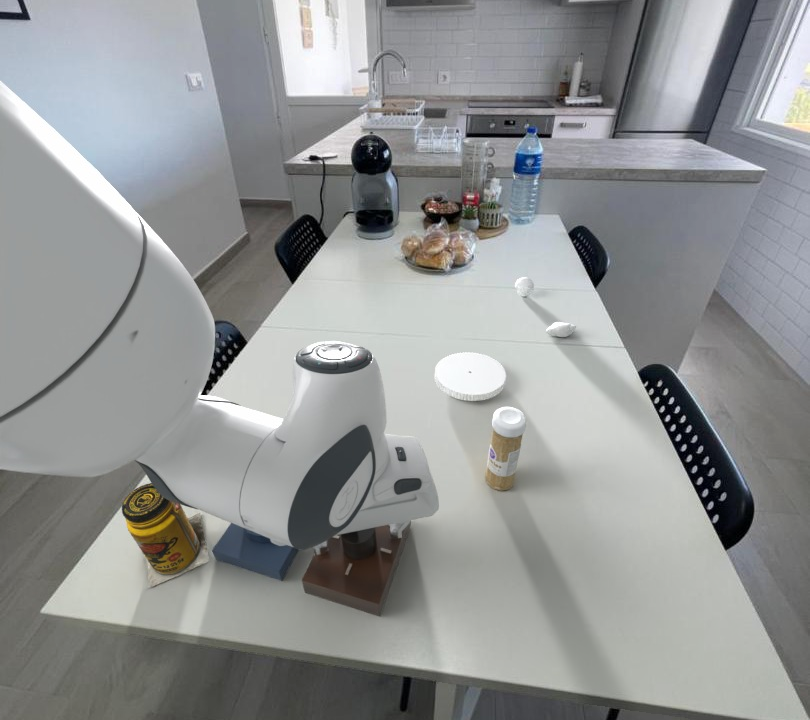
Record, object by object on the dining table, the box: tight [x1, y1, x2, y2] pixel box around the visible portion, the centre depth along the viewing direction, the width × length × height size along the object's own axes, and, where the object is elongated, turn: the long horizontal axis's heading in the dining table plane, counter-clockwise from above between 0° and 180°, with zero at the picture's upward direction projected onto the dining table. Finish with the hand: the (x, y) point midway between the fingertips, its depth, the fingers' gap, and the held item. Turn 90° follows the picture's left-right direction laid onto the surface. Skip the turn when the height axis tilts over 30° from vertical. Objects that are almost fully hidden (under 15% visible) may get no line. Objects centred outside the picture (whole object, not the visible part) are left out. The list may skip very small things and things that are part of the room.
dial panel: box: [301, 520, 412, 617], centre depth 59 cm, size 13×10×3 cm
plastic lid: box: [434, 351, 507, 402], centre depth 89 cm, size 14×14×2 cm
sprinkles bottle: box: [484, 406, 527, 491], centre depth 66 cm, size 5×5×13 cm
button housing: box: [211, 523, 299, 582], centre depth 62 cm, size 12×10×4 cm
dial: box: [341, 528, 377, 559], centre depth 57 cm, size 4×4×4 cm
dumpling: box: [545, 321, 578, 338], centre depth 102 cm, size 7×5×4 cm
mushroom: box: [514, 276, 535, 298], centre depth 118 cm, size 5×5×5 cm
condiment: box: [121, 482, 210, 588], centre depth 57 cm, size 7×8×12 cm
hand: (359, 541), depth 58 cm, fingers open, 8 cm apart
